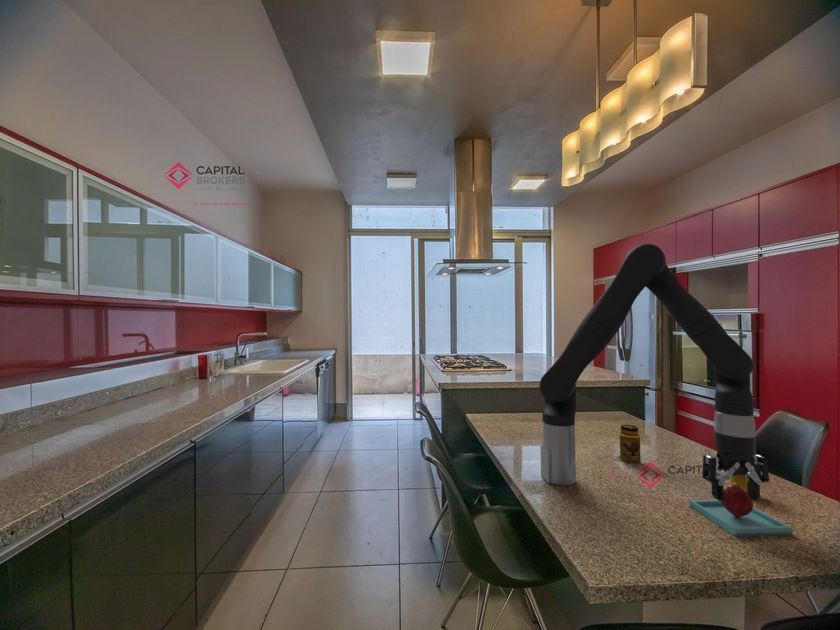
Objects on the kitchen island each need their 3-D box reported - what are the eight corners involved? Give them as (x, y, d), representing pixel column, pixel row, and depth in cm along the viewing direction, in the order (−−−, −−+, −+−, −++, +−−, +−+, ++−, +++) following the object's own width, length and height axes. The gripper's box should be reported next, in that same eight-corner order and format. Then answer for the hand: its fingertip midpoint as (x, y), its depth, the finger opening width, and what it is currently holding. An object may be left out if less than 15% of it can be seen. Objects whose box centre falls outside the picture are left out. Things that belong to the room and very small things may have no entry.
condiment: (632, 466, 119) (631, 430, 119) (609, 458, 126) (609, 423, 127) (647, 463, 121) (646, 427, 122) (624, 455, 129) (623, 421, 130)
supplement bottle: (751, 499, 96) (750, 463, 96) (726, 491, 101) (725, 456, 101) (760, 495, 98) (759, 459, 99) (736, 487, 103) (734, 453, 103)
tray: (735, 536, 79) (735, 529, 79) (689, 506, 92) (689, 500, 92) (792, 535, 80) (792, 527, 80) (738, 505, 93) (738, 499, 93)
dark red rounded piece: (760, 524, 83) (758, 489, 83) (731, 522, 84) (730, 487, 84) (742, 511, 88) (741, 479, 89) (716, 509, 90) (715, 477, 90)
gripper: (718, 436, 83) (720, 508, 82) (778, 435, 83) (780, 506, 83) (693, 427, 90) (694, 492, 90) (748, 426, 91) (749, 491, 90)
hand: (735, 499), depth 86 cm, fingers open, 8 cm apart
